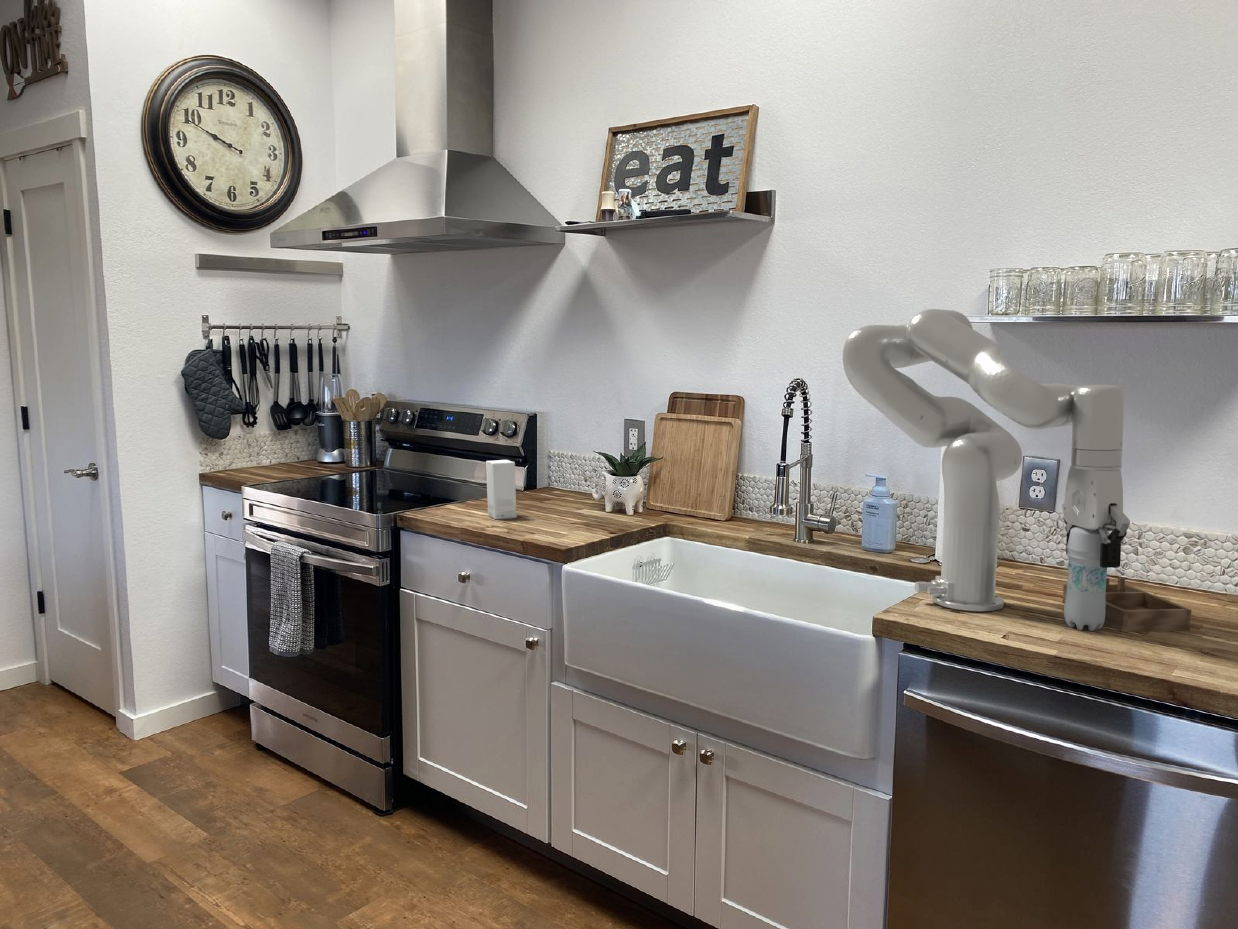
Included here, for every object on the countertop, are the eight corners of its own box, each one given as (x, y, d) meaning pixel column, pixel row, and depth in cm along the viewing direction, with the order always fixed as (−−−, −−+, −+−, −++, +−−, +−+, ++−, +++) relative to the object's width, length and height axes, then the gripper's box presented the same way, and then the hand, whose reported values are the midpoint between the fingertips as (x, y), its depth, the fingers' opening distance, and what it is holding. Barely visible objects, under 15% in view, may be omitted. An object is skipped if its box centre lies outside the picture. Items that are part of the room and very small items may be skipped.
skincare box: (516, 518, 257) (516, 462, 256) (493, 520, 255) (492, 463, 253) (508, 513, 265) (508, 458, 263) (485, 515, 263) (485, 459, 261)
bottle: (1067, 619, 164) (1075, 506, 162) (1109, 626, 160) (1118, 510, 158) (1056, 627, 159) (1064, 511, 157) (1100, 635, 155) (1108, 516, 152)
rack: (1122, 631, 157) (1124, 600, 156) (1062, 602, 175) (1064, 574, 174) (1189, 630, 158) (1192, 599, 157) (1123, 601, 176) (1125, 573, 175)
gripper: (1046, 455, 164) (1043, 551, 166) (1106, 465, 147) (1101, 573, 149) (1087, 454, 165) (1083, 550, 167) (1151, 464, 148) (1146, 571, 149)
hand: (1092, 561), depth 158 cm, fingers open, 9 cm apart
